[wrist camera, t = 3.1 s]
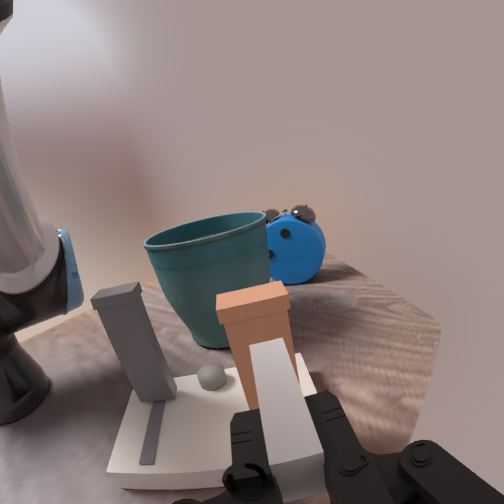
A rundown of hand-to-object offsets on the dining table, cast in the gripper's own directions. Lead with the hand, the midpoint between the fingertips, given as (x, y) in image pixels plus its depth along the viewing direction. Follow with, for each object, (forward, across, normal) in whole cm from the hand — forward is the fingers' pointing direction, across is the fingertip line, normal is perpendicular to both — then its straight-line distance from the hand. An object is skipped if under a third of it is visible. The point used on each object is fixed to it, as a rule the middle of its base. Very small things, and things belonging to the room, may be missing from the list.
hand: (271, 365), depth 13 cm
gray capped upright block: (+13, -12, -11) cm, 21 cm away
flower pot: (+32, -5, -15) cm, 36 cm away
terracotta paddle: (+6, 0, -11) cm, 13 cm away
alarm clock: (+46, +10, -15) cm, 49 cm away
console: (+10, -6, -15) cm, 19 cm away
